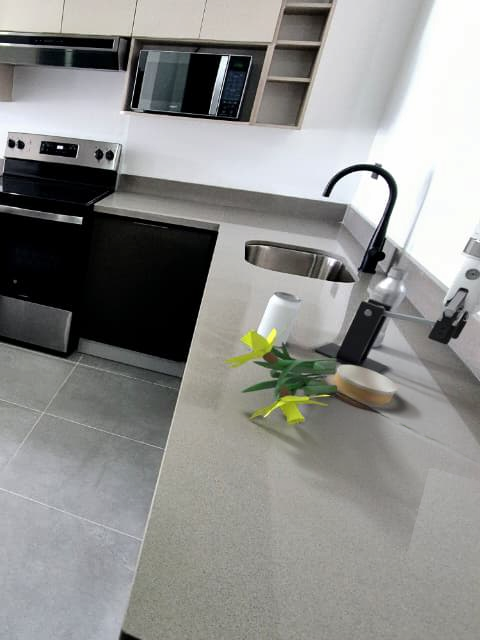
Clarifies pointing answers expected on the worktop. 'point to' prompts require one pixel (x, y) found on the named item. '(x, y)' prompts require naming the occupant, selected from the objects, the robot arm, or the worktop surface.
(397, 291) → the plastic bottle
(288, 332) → the can
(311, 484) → the worktop surface
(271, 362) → the daffodil flowers
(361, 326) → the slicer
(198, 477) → the worktop surface
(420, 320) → the lever
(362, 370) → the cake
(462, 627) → the worktop surface
